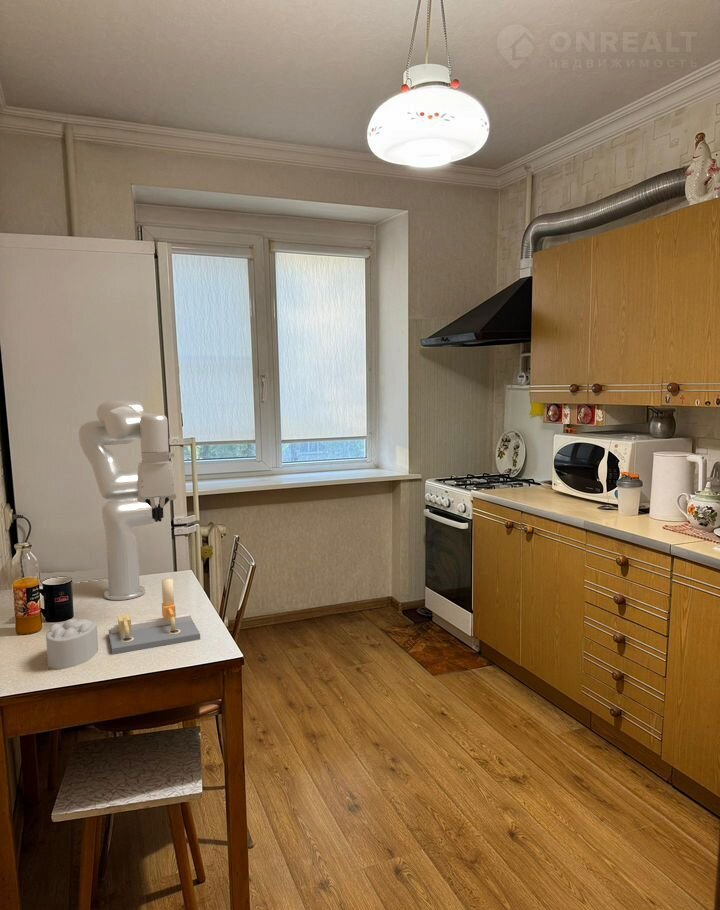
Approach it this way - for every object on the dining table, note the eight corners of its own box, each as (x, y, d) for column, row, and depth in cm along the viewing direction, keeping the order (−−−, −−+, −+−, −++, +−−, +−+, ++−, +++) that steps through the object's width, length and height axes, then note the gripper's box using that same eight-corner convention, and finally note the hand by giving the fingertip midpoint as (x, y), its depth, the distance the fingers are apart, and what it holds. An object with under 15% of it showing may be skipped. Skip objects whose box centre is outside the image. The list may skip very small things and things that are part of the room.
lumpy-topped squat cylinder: (103, 647, 164) (101, 615, 163) (79, 669, 151) (77, 634, 150) (63, 647, 164) (62, 615, 163) (37, 669, 151) (34, 634, 150)
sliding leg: (162, 620, 177) (160, 578, 176) (173, 618, 179) (171, 577, 177) (167, 631, 169) (165, 588, 167) (179, 629, 170) (177, 586, 169)
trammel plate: (108, 635, 172) (107, 617, 171) (190, 621, 181) (190, 604, 180) (112, 654, 159) (111, 634, 159) (200, 639, 168) (199, 620, 168)
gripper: (179, 455, 186) (182, 516, 188) (126, 457, 180) (129, 520, 182) (184, 457, 179) (186, 520, 181) (128, 460, 173) (131, 525, 175)
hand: (157, 520), depth 181 cm, fingers closed
